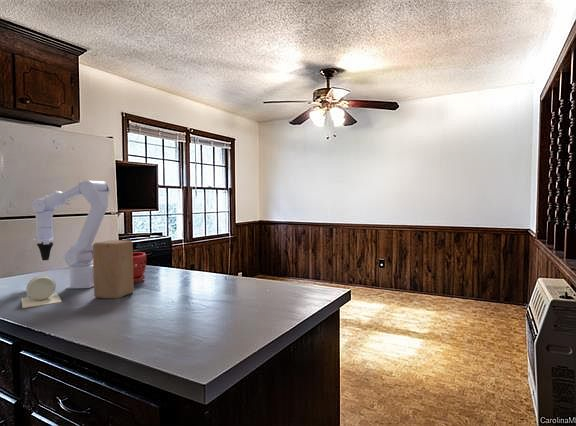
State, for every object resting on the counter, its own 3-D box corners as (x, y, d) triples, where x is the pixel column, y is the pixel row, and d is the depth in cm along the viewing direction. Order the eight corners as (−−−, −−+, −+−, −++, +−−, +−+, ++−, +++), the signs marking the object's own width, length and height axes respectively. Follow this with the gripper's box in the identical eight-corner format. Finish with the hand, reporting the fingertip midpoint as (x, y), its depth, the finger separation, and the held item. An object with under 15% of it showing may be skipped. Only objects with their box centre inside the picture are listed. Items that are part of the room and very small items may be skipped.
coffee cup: (57, 284, 141) (62, 288, 131) (36, 300, 136) (39, 306, 127) (40, 268, 138) (44, 270, 128) (18, 284, 133) (20, 288, 124)
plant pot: (113, 280, 162) (113, 253, 162) (145, 277, 168) (145, 251, 167) (113, 286, 150) (112, 257, 150) (147, 283, 156) (147, 255, 155)
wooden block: (117, 299, 130) (116, 243, 129) (93, 298, 132) (91, 242, 131) (134, 292, 140) (133, 240, 139) (111, 291, 142) (110, 239, 141)
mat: (21, 299, 132) (21, 298, 132) (57, 294, 138) (57, 293, 138) (22, 308, 121) (22, 307, 121) (61, 302, 127) (61, 301, 127)
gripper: (31, 227, 156) (32, 258, 156) (33, 229, 144) (34, 263, 145) (51, 226, 160) (52, 257, 161) (55, 228, 149) (56, 261, 149)
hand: (45, 260), depth 153 cm, fingers closed
